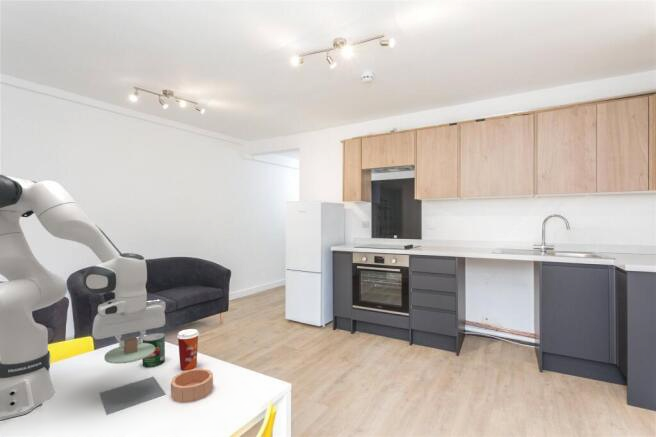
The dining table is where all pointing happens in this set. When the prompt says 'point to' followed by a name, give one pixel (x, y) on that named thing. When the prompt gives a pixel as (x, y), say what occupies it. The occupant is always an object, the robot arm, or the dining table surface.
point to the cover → (129, 352)
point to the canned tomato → (159, 352)
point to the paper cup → (188, 348)
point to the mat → (130, 395)
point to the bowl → (191, 385)
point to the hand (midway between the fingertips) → (130, 345)
